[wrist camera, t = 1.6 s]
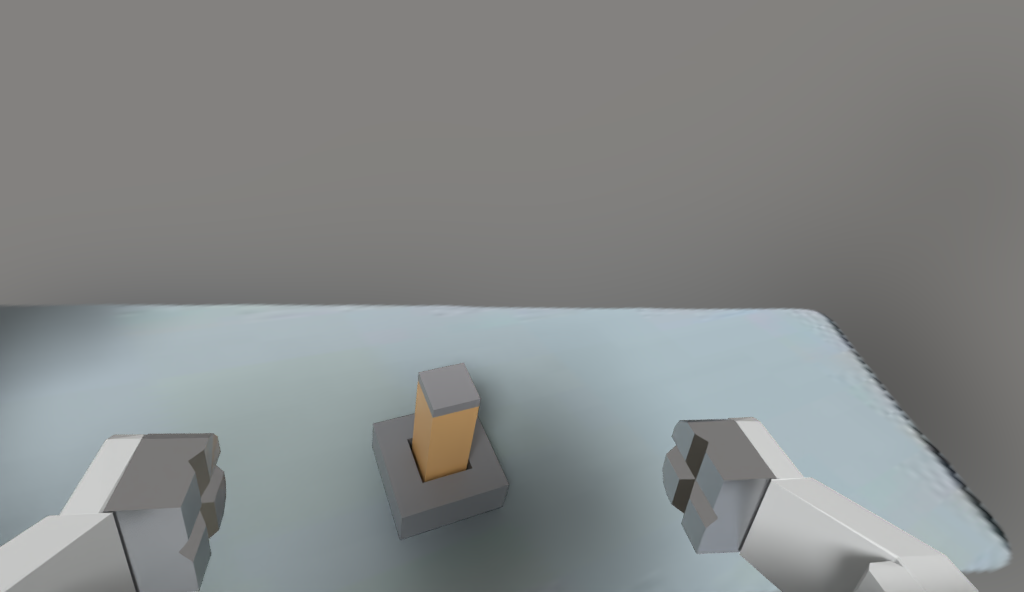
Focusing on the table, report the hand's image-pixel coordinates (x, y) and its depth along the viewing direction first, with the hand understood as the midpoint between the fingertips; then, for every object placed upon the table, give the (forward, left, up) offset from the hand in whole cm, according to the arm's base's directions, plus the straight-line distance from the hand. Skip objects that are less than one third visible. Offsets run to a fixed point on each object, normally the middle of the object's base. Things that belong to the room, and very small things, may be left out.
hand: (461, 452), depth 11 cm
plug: (+11, +23, -43) cm, 50 cm away
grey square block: (+11, +23, -43) cm, 50 cm away
